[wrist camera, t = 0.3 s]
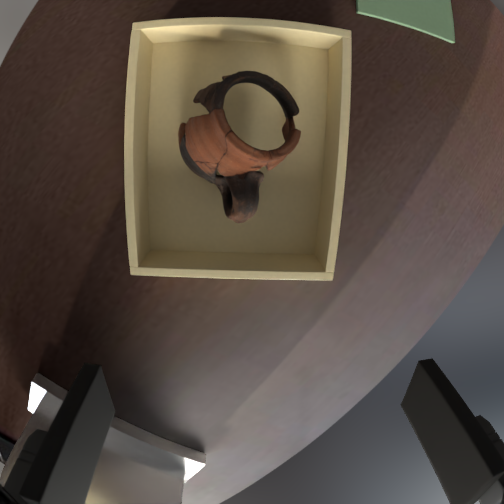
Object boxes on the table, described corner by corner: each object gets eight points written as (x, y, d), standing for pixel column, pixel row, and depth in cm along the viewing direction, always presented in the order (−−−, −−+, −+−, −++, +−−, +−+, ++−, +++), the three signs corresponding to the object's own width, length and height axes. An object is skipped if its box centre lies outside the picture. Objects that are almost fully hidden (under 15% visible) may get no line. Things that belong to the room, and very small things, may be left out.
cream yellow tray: (147, 38, 24) (132, 22, 19) (335, 44, 25) (351, 30, 20) (144, 256, 31) (130, 275, 27) (320, 260, 32) (332, 280, 28)
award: (32, 402, 38) (-32, 531, 12) (37, 372, 36) (-45, 519, 10) (183, 474, 44) (172, 612, 18) (206, 453, 42) (199, 613, 16)
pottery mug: (165, 103, 26) (192, 57, 19) (256, 103, 31) (302, 68, 23) (182, 233, 27) (217, 226, 20) (276, 217, 32) (331, 208, 24)
